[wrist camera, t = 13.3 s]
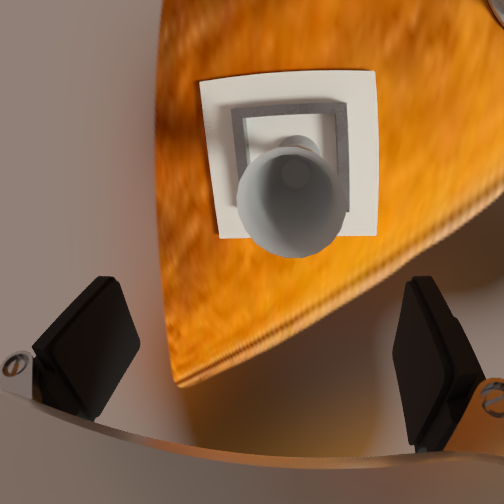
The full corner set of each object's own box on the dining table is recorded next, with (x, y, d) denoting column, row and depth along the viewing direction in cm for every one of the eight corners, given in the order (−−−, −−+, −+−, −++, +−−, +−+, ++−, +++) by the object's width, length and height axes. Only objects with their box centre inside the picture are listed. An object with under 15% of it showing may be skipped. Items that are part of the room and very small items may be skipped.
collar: (344, 102, 32) (346, 102, 30) (347, 206, 37) (349, 212, 35) (234, 108, 34) (230, 108, 32) (245, 209, 39) (242, 215, 38)
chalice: (261, 131, 35) (223, 159, 19) (320, 120, 33) (335, 137, 17) (276, 191, 38) (252, 265, 22) (332, 181, 36) (353, 249, 20)
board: (373, 72, 30) (374, 71, 29) (374, 232, 39) (376, 235, 38) (202, 82, 34) (199, 81, 33) (221, 235, 43) (219, 238, 42)
